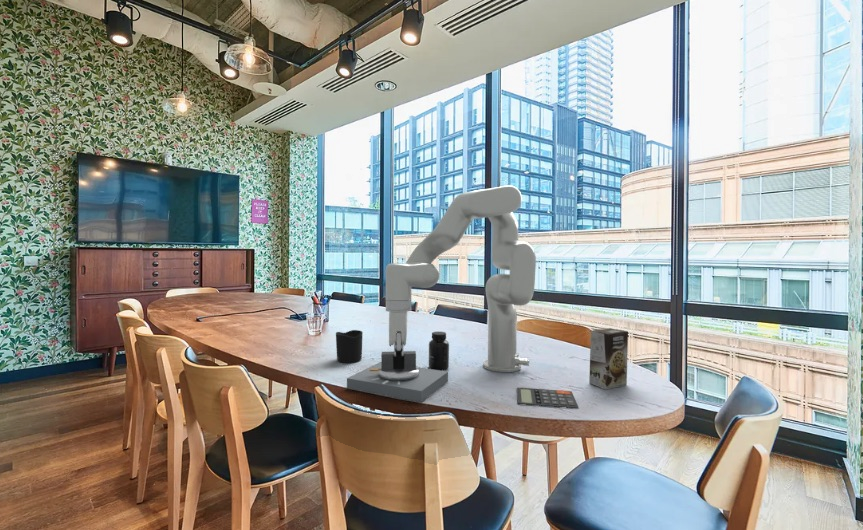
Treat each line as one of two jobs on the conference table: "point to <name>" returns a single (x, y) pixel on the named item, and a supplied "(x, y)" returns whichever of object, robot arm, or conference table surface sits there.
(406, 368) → the gray block on plate
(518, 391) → the calculator
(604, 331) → the coffee box
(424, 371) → the stand
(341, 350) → the pen holder
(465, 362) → the conference table surface
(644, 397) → the conference table surface
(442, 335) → the supplement bottle
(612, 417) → the conference table surface
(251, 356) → the conference table surface
